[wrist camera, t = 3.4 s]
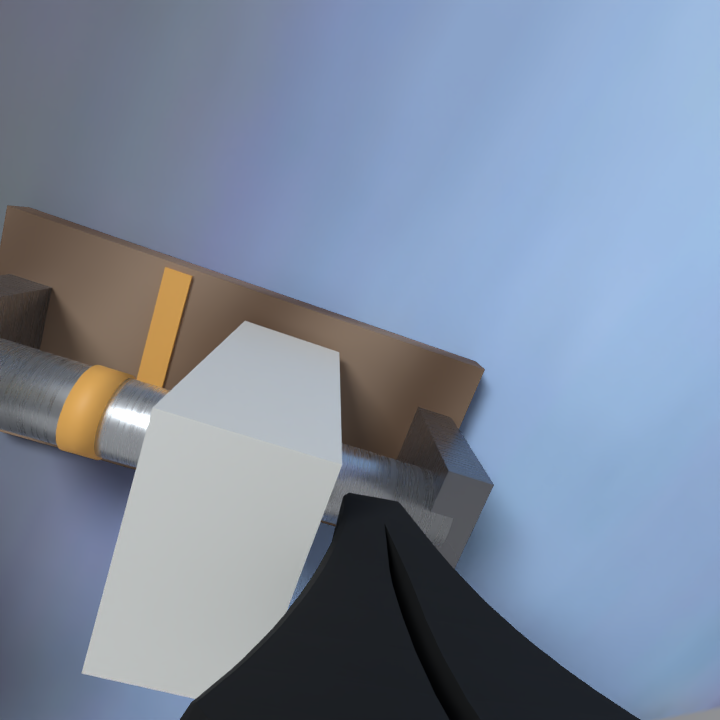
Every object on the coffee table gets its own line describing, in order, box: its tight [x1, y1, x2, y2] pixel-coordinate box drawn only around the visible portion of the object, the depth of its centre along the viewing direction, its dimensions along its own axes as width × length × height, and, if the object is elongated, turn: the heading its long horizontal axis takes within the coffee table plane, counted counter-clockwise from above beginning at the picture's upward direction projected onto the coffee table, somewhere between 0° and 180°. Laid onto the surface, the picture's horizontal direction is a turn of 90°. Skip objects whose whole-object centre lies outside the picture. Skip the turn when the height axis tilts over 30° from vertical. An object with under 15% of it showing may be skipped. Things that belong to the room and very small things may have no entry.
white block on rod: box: [82, 321, 342, 699], centre depth 11 cm, size 3×5×7 cm, turn 161°
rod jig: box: [0, 205, 494, 569], centre depth 13 cm, size 15×7×6 cm, turn 71°
